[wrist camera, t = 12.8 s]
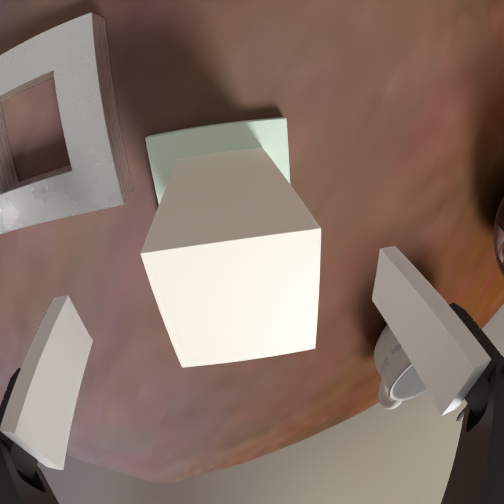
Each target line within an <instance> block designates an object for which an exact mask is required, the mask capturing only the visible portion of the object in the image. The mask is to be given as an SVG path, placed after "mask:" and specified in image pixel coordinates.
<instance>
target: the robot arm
mask: <svg viewBox="0 0 504 504" xmlns="http://www.w3.org/2000/svg"><path fill="white" fill-rule="evenodd" d="M372 301H373V302H374V304H375V305H376V307H377V309H378V310H379V312H380V313H381V315H382V316H383V318H384V319H385V321H386V322H387V324H388V326H389V327H390V329H391V330H392V332H393V334H394V335H395V337H396V338H397V340H398V342H399V343H400V345H401V346H402V348H403V350H404V351H405V353H406V355H407V356H408V358H409V360H410V361H411V363H412V365H413V366H414V368H415V370H416V371H417V373H418V375H419V377H420V378H421V380H422V382H423V383H424V385H425V387H426V389H427V390H428V392H429V394H430V396H431V397H432V399H433V401H434V403H435V405H436V407H437V408H438V410H439V412H440V414H441V415H444V414H446V413H448V412H450V411H452V410H454V409H456V408H458V406H459V405H460V404H461V402H462V401H463V400H464V399H465V400H466V402H467V403H468V404H467V406H466V407H465V408H464V409H463V411H462V412H461V413H460V414H459V415H458V417H457V420H456V421H459V420H460V419H461V418H462V417H463V416H464V418H463V421H462V422H463V423H462V429H461V434H460V438H459V443H458V447H457V451H456V455H455V459H454V463H453V467H452V470H451V474H450V477H449V481H448V484H447V487H446V490H445V493H444V496H443V499H442V502H441V504H504V357H503V356H502V355H501V354H500V353H499V352H498V350H497V349H496V348H495V346H494V345H493V344H492V342H491V341H490V340H489V339H488V337H487V336H486V335H485V334H484V332H483V331H482V330H481V329H479V326H478V325H477V324H476V322H475V321H473V319H472V318H471V316H470V315H469V314H468V313H467V312H466V311H465V310H464V309H463V308H461V307H460V306H458V305H457V304H455V303H452V304H449V305H448V304H447V303H446V301H445V300H444V299H443V298H442V297H441V296H440V294H439V293H438V292H437V291H436V290H435V289H434V287H433V286H432V285H431V284H430V283H429V282H428V281H427V280H426V279H425V277H424V276H423V275H422V274H421V273H420V272H419V271H418V270H417V269H416V268H415V266H414V265H413V264H412V263H411V262H410V261H409V260H408V259H407V258H406V257H405V256H404V255H403V254H402V253H401V252H400V251H399V250H398V249H397V248H396V246H392V247H386V248H380V252H379V259H378V265H377V272H376V278H375V284H374V289H373V295H372ZM92 342H93V341H92V339H91V337H90V335H89V334H88V332H87V330H86V328H85V327H84V325H83V323H82V321H81V319H80V317H79V315H78V314H77V312H76V310H75V308H74V306H73V304H72V302H71V300H70V298H69V296H60V297H54V299H53V301H52V303H51V305H50V307H49V309H48V311H47V313H46V315H45V317H44V319H43V321H42V323H41V325H40V327H39V329H38V331H37V333H36V335H35V337H34V340H33V342H32V344H31V346H30V349H29V351H28V353H27V355H26V358H25V360H24V362H23V365H22V367H21V368H18V369H17V371H16V372H15V373H14V374H13V376H12V377H11V379H10V381H9V384H8V387H7V391H6V392H5V395H4V400H2V403H1V406H0V504H59V503H58V501H57V499H56V497H55V496H54V494H53V492H52V490H51V488H50V486H49V485H48V483H47V481H46V479H45V477H44V475H43V473H42V471H41V470H40V468H39V467H38V466H37V463H38V461H39V462H41V463H42V464H44V465H45V466H47V467H50V468H55V469H60V470H63V467H64V461H65V455H66V449H67V444H68V438H69V433H70V428H71V423H72V419H73V414H74V410H75V405H76V401H77V397H78V393H79V389H80V385H81V381H82V377H83V373H84V370H85V366H86V363H87V359H88V356H89V352H90V349H91V346H92Z"/></svg>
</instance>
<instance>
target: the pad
mask: <svg viewBox="0 0 504 504" xmlns="http://www.w3.org/2000/svg"><path fill="white" fill-rule="evenodd" d="M145 140H146V145H147V151H148V156H149V161H150V166H151V171H152V176H153V181H154V185H155V190H156V194H157V199H158V203H159V204H160V202H161V199H162V197H163V194H164V192H165V190H166V187H167V185H168V182H169V180H170V178H171V175H172V173H173V171H174V169H175V166H176V164H177V162H178V160H179V159H181V158H187V157H193V156H200V155H206V154H213V153H220V152H228V151H235V150H244V149H252V148H262V147H263V149H264V150H265V151H266V153H267V154H268V155H269V156H270V158H271V159H272V160H273V162H274V163H275V164H276V166H277V167H278V169H279V170H280V171H281V173H282V174H283V175H284V177H285V178H286V179H287V181H288V182H289V184H290V171H289V153H288V137H287V122H286V118H284V117H279V118H267V119H256V120H246V121H237V122H229V123H221V124H213V125H206V126H200V127H193V128H187V129H181V130H176V131H170V132H165V133H160V134H155V135H150V136H147V137H146V138H145Z"/></svg>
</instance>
